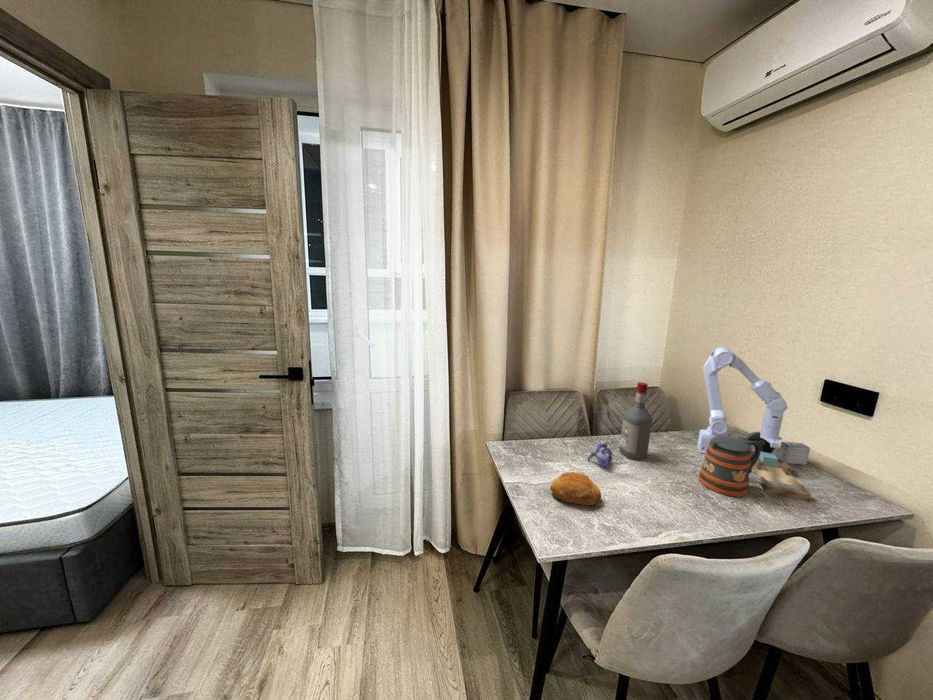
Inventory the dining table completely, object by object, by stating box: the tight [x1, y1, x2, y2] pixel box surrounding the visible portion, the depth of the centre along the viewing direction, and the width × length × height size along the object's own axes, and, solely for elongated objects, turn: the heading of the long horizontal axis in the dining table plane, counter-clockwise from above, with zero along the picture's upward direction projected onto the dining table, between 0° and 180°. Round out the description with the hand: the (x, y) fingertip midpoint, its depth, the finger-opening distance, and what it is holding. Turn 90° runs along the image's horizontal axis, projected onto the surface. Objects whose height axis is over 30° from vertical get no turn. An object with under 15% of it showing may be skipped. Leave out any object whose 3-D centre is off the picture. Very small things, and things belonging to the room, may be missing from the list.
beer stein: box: [698, 431, 765, 497], centre depth 134 cm, size 19×15×20 cm
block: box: [759, 452, 779, 468], centre depth 149 cm, size 4×5×4 cm
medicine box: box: [777, 441, 811, 465], centre depth 152 cm, size 8×4×9 cm, turn 84°
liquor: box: [618, 381, 653, 461], centre depth 153 cm, size 9×9×30 cm
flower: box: [587, 442, 614, 469], centre depth 146 cm, size 9×9×10 cm
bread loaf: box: [549, 471, 602, 506], centre depth 126 cm, size 14×16×8 cm
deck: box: [752, 458, 812, 503], centre depth 141 cm, size 12×26×4 cm, turn 157°
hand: (764, 457), depth 153 cm, fingers closed
